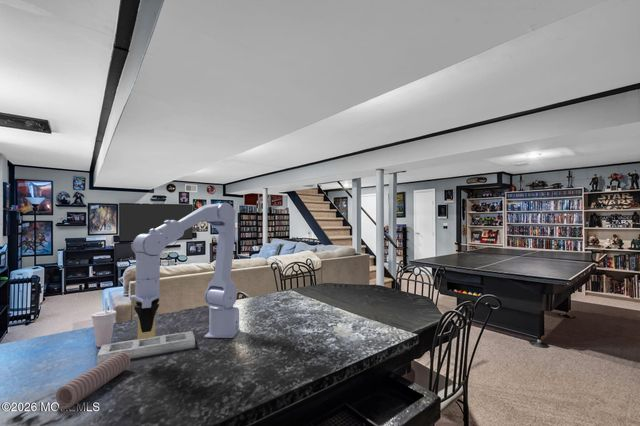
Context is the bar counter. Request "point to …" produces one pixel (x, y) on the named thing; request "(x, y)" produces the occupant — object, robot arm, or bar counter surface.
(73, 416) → the bar counter surface
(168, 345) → the rail
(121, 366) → the coil
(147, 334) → the drilled wooden block
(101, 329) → the smoothie
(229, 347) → the bar counter surface
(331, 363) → the bar counter surface
